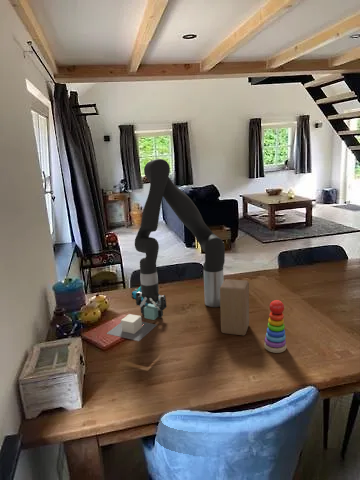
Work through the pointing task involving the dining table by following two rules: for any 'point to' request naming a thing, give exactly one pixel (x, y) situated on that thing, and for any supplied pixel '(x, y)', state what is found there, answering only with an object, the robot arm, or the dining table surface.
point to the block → (234, 306)
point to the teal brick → (150, 311)
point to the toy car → (141, 296)
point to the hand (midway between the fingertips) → (152, 315)
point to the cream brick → (131, 323)
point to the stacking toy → (276, 329)
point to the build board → (137, 336)
